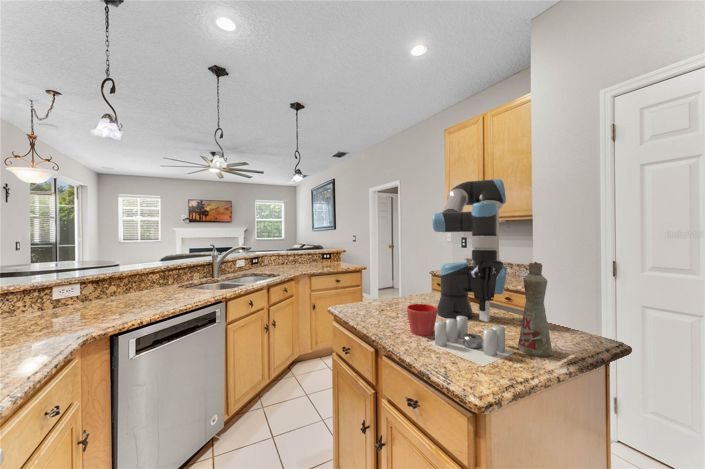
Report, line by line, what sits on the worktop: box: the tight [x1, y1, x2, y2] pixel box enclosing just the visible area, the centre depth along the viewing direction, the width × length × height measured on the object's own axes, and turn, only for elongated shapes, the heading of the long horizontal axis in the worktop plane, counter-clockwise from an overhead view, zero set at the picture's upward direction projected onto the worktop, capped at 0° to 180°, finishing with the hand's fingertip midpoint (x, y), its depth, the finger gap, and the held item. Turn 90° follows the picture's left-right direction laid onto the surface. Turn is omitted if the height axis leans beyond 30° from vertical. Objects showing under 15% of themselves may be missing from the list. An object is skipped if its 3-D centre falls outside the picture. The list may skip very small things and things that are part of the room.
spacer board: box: [427, 316, 515, 367], centre depth 90 cm, size 16×20×8 cm
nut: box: [463, 333, 483, 350], centre depth 91 cm, size 6×6×3 cm
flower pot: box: [406, 303, 438, 337], centre depth 104 cm, size 11×11×10 cm
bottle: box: [517, 261, 554, 358], centre depth 87 cm, size 9×9×28 cm
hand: (484, 320), depth 94 cm, fingers closed
